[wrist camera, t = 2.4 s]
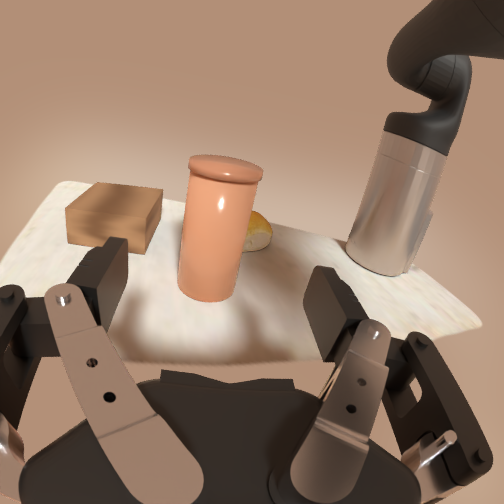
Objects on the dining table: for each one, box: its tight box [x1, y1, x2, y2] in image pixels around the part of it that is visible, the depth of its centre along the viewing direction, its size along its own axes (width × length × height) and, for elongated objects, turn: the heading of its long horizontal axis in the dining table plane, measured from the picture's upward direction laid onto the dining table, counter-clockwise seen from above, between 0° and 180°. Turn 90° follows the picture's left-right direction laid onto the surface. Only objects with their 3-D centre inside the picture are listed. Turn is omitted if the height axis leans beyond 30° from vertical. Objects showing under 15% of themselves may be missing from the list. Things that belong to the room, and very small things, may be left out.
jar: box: [178, 155, 263, 302], centre depth 24 cm, size 6×6×11 cm
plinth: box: [65, 182, 163, 255], centre depth 30 cm, size 9×9×4 cm
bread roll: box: [243, 211, 272, 252], centre depth 35 cm, size 8×9×4 cm
